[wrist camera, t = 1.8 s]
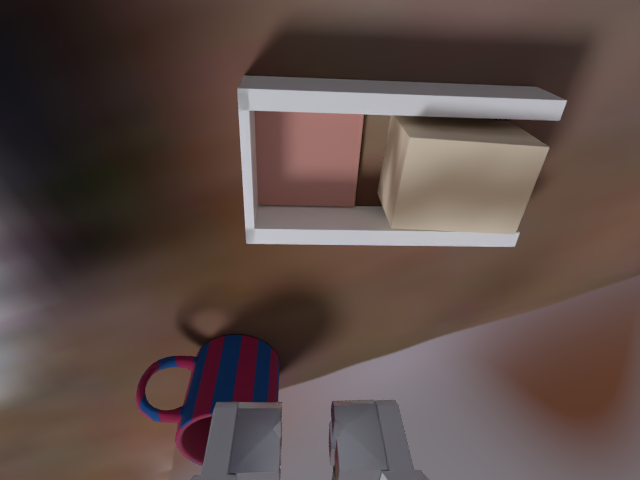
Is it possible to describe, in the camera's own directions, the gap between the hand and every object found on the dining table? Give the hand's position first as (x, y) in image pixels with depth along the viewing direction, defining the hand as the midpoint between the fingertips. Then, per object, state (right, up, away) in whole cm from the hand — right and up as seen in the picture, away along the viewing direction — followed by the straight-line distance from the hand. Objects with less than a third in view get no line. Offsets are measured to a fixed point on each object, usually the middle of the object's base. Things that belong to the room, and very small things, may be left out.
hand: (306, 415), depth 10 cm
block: (+8, +9, +15) cm, 19 cm away
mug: (-8, -5, +23) cm, 25 cm away
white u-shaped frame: (+4, +9, +15) cm, 18 cm away
